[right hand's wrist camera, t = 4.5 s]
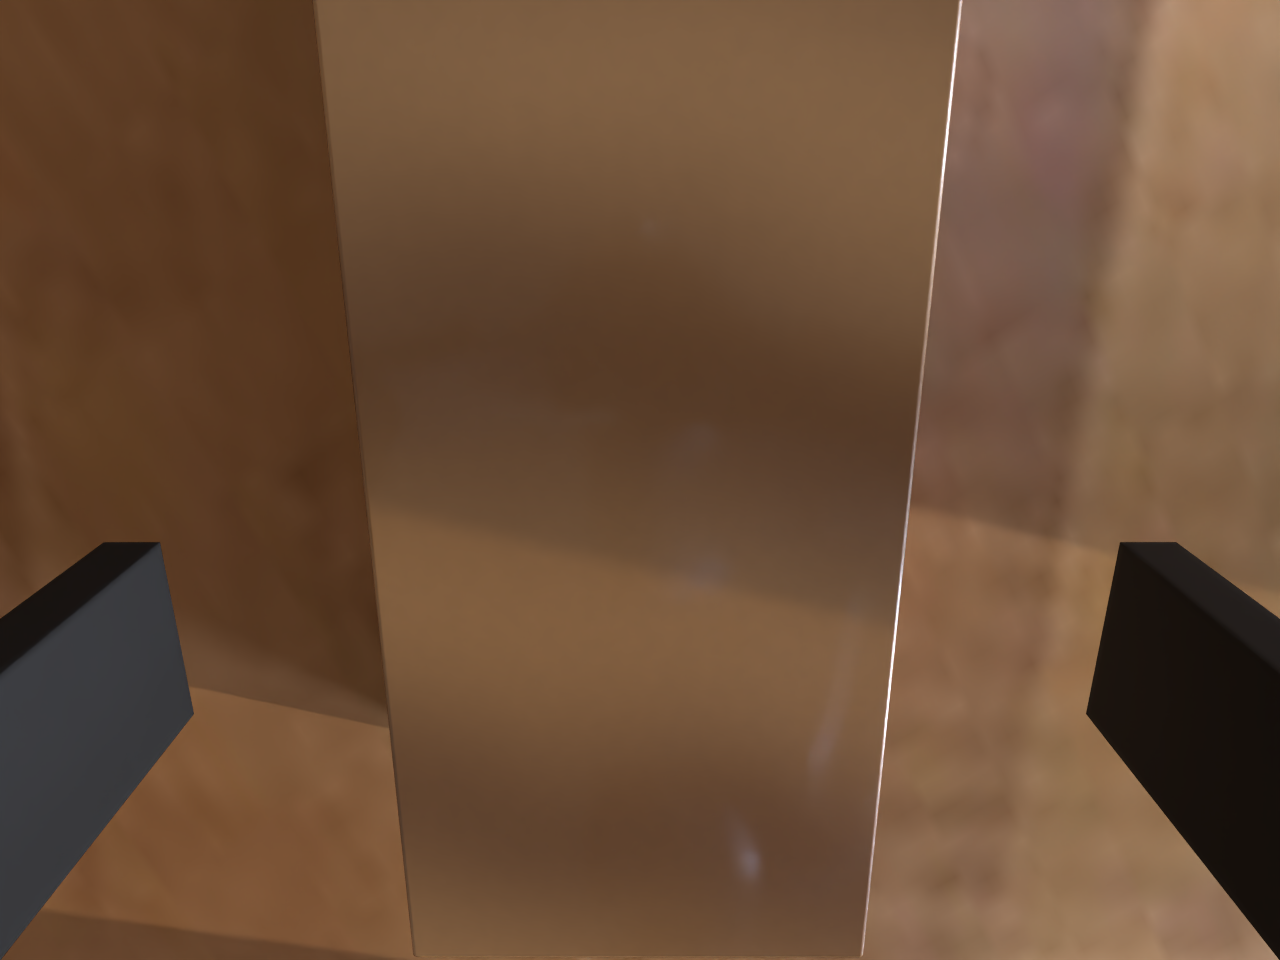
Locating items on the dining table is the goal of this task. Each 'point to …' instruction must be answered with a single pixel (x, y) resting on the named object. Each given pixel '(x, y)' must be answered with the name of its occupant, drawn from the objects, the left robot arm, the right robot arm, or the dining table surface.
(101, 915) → the dining table surface
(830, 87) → the beam
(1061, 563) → the dining table surface
